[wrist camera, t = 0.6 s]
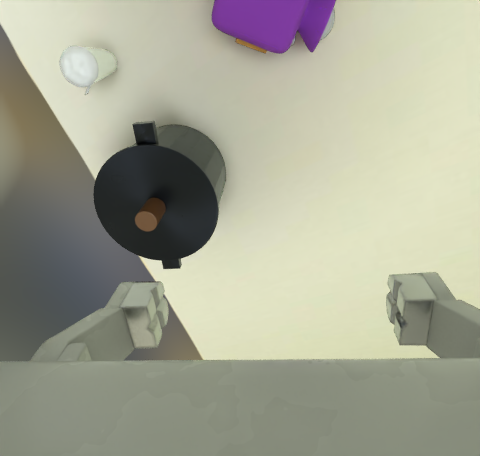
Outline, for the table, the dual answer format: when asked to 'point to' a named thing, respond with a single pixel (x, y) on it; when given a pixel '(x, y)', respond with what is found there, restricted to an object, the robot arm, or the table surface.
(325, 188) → the table surface
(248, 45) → the toy camera
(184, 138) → the pot
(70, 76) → the milkshake
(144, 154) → the pot lid
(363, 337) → the table surface
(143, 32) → the table surface
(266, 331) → the table surface
